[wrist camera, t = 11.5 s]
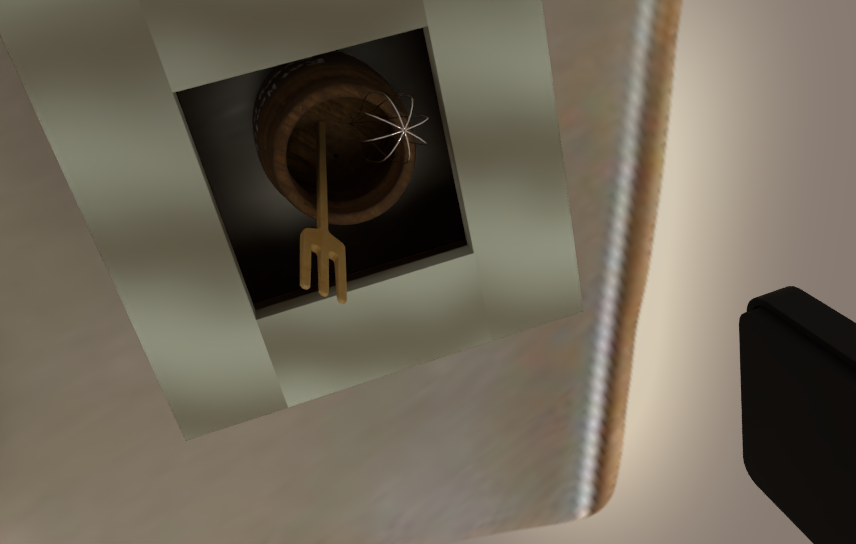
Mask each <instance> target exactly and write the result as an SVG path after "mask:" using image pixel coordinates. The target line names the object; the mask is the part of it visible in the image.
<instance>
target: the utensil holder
mask: <svg viewBox="0 0 856 544" xmlns="http://www.w3.org/2000/svg"><path fill="white" fill-rule="evenodd" d="M398 95H406V96H410V98H411V101H412V105H411V111H410V115H407V112H406V109H405V107H404V105H403V103H402V101H401V99H400V97H399V96H398ZM412 109H413V99H412V96H411V95H408V94H397V93H396V91H395V90H394V89H393V88H392V86H391V85H390V84H389V83H388V82H387V81H386V80H385V79H384V78H383V77H382V76H381V75H379V74H378V73H377V72H376V71H374V70H373V69H372V68H370V67H369V66H368V65H366V64H365V63H363V62H361V61H360V60H358V59H356V58H354V57H352V56H350V55H347V54H344V53H341V52H337V51H331V52H327V53H323V54H319V55H315V56H312V57H308V58H304V59H300V60H296V61H293V62H289V63H285V64H281V65H278V66H277V67H276V68H275V69H274V70H273V71H272V72H271V73H270V74H269V75H268V77H267V78H266V79H265V81H264V82H263V84H262V86H261V88H260V90H259V92H258V94H257V97H256V101H255V104H254V110H253V132H254V139H255V144H256V148H257V153H258V156H259V159H260V162H261V164H262V167H263V169H264V171H265V173H266V175H267V177H268V178H269V180H270V181H271V183H272V184H273V185H274V187H275V188H276V189H277V190H278V191H279V192H280V193H281V194H282V195H283V196H284V197H286V198H287V200H288V201H289V202H291V203H292V204H293V205H294V206H295V207H296V208H297V209H299V210H300V211H301V212H303V213H304V214H306V215H308V216H309V217H311V218H313V219H316V220H317V229H315V228H305V229H304V230H303V231H302V233H301V234H300V286H301V287H302V288H303V289H306V290H307V289H309V288H310V281H311V251H312V252H315V253H316V254H317V259H318V288H319V294H320V295H321V296H323V297H326V296H328V294H329V259H331V260H333V261H334V263H335V278H336V293H337V301H338V302H339V303H341V304H344V303H346V302H347V284H346V255H345V246H344V245H343V243H342V242H340V241H339V240H338V239H336V238H335V237H334V236H333V235H331V234H330V232H329V231H328V223H329V224H335V225H351V224H358V223H362V222H365V221H368V220H371V219H373V218H375V217H377V216H379V215H381V214H382V213H384V212H385V211H387V210H388V209H389V208H390V207H392V206H393V205H394V204H395V203H396V202H397V201H398V199H399V198H400V197H401V196H402V194H403V193H404V191H405V190H406V188H407V186H408V184H409V182H410V180H411V177H412V174H413V171H414V167H415V160H416V146H415V144H418V145H427V143H426V142H425V141H424V140H422V139H421V138H419V137H418V136H416V135H414V134H413V130H412V128H413V127H416V126H418V125H420V124H422V123H424V122H425V121H427V120H428V116H423V115H411V113H412ZM408 116H409V118H408ZM411 116H419V117H426V118H427V119H426V120H424V121H422V122H421V123H419V124H416V125H414V126H412V127H411V124H410V122H409V120H410V117H411ZM414 136H415V137H416V138H418V139H420V140H421V141H423V142H424V143H425V144H422V143H415V139H414Z"/></svg>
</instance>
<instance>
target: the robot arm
mask: <svg viewBox="0 0 856 544" xmlns="http://www.w3.org/2000/svg"><path fill="white" fill-rule="evenodd" d="M739 335H740V370H741V401H742V402H741V403H742V434H743V459H744V464H745V467H746V469H747V471H748V474H749V475H750V477H751V479H752V480H753V481H754V483H755V484H756V485H757V486H758V487H759V488H760V489H761V490H762V491H763V492H764V493H765V494H766V495H767V496H768V497H769V498H770V499H771V500H772V501H773V503H775V505H776V506H777V507H778V508H779V509H780V510H781V511H782V512H784V514H785V515H786V516H787V517H788V518H789V519H790V520H791V521H792V522H793V523H794V524H795V525H796V526H797V527H798V528H799V529H800V530H801V531H802V532H803V533H804V534H805V535H806V536H807V537H808V538H809V539H810V541H811V542H813V544H856V323H854V322H853V321H852V320H850V319H848V318H847V317H845V316H843V315H842V314H840V313H838V312H837V311H835V310H834V309H832V308H830V307H829V306H827V305H825V304H824V303H822V302H821V301H819V300H817V299H815V298H814V297H812V296H811V295H809V294H808V293H806V292H804V291H803V290H801V289H799V288H797V287H794V286H788V287H785V288H782V289H779V290H776V291H774V292H771V293H768V294H765V295H762V296H759V297H756V298H754V299H752V300H751V301H750V302H749V304H748V306H747V312H746V313H744V314H742V315H741V317H740V320H739Z"/></svg>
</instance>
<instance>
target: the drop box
mask: <svg viewBox="0 0 856 544" xmlns="http://www.w3.org/2000/svg"><path fill="white" fill-rule="evenodd" d="M422 27H423V31H424V36H425V40H426V45H427V50H428V55H429V60H430V65H431V70H432V74H433V79H434V84H435V89H436V94H437V99H438V104H439V109H440V113H441V118H442V123H443V128H444V133H445V138H446V143H447V147H448V152H449V157H450V162H451V167H452V172H453V177H454V182H455V186H456V191H457V196H458V201H459V206H460V211H461V216H462V220H463V225H464V230H465V235H466V239H464V240H461V241H458V242H454V243H451V244H448V245H445V246H441V247H438V248H435V249H431V250H428V251H425V252H422V253H418V254H415V255H412V256H408V257H405V258H402V259H399V260H395V261H392V262H389V263H385V264H382V265H379V266H376V267H372V268H369V269H366V270H363V271H359V272H356V273H353V274H349V275H346V284H347V302H346V303H344V304H341V303H339V302H338V301H337V293H336V279H333V280H330V281H329V294H328V296H326V297H323V296H321V295H320V294H319V288H318V284H317V285H313V286H310V288H309V289H307V290H306V289H300V290H297V291H294V292H290V293H287V294H284V295H280V296H277V297H274V298H271V299H267V300H264V301H261V302H257V303H254V304H253V303H252V300H251V297H250V295H249V292H248V289H247V286H246V284H245V281H244V278H243V276H242V273H241V270H240V267H239V265H238V262H237V259H236V256H235V254H234V251H233V248H232V245H231V243H230V240H229V237H228V234H227V232H226V229H225V226H224V223H223V221H222V218H221V215H220V213H219V210H218V207H217V204H216V202H215V199H214V196H213V193H212V191H211V188H210V185H209V182H208V180H207V177H206V174H205V171H204V169H203V166H202V163H201V161H200V158H199V155H198V152H197V150H196V147H195V144H194V141H193V139H192V136H191V133H190V130H189V128H188V125H187V122H186V119H185V117H184V114H183V111H182V108H181V106H180V103H179V100H178V98H177V95H176V92H178V91H182V90H186V89H189V88H193V87H197V86H201V85H205V84H208V83H212V82H216V81H220V80H224V79H228V78H231V77H235V76H239V75H243V74H247V73H250V72H254V71H258V70H262V69H266V68H270V67H273V66H277V65H281V64H285V63H289V62H293V61H296V60H300V59H304V58H308V57H312V56H315V55H319V54H323V53H327V52H331V51H335V50H338V49H342V48H346V47H350V46H354V45H357V44H361V43H365V42H369V41H373V40H377V39H380V38H384V37H388V36H392V35H396V34H399V33H403V32H407V31H411V30H415V29H419V28H422ZM0 36H1V38H2V40H3V42H4V44H5V47H6V49H7V51H8V53H9V55H10V58H11V60H12V62H13V64H14V66H15V69H16V71H17V73H18V75H19V77H20V80H21V82H22V84H23V86H24V88H25V90H26V93H27V95H28V97H29V99H30V101H31V104H32V106H33V108H34V110H35V112H36V115H37V117H38V119H39V121H40V123H41V125H42V128H43V130H44V132H45V134H46V136H47V139H48V141H49V143H50V145H51V147H52V150H53V152H54V154H55V156H56V158H57V161H58V163H59V165H60V167H61V169H62V171H63V174H64V176H65V178H66V180H67V182H68V185H69V187H70V189H71V191H72V193H73V196H74V198H75V200H76V202H77V204H78V207H79V209H80V211H81V213H82V215H83V217H84V220H85V222H86V224H87V226H88V228H89V231H90V233H91V235H92V237H93V239H94V242H95V244H96V246H97V248H98V250H99V252H100V255H101V257H102V259H103V261H104V263H105V266H106V268H107V270H108V272H109V274H110V277H111V279H112V281H113V283H114V285H115V288H116V290H117V292H118V294H119V296H120V298H121V301H122V303H123V305H124V307H125V309H126V312H127V314H128V316H129V318H130V320H131V323H132V325H133V327H134V329H135V331H136V334H137V336H138V338H139V340H140V342H141V344H142V347H143V349H144V351H145V353H146V355H147V358H148V360H149V362H150V364H151V366H152V369H153V371H154V373H155V375H156V377H157V379H158V382H159V384H160V386H161V388H162V390H163V393H164V395H165V397H166V399H167V401H168V404H169V406H170V408H171V410H172V412H173V415H174V417H175V419H176V421H177V423H178V425H179V428H180V430H181V432H182V434H183V436H184V439H185V441H187V440H190V439H193V438H196V437H199V436H202V435H205V434H208V433H211V432H214V431H217V430H220V429H223V428H227V427H230V426H233V425H236V424H239V423H242V422H245V421H248V420H251V419H254V418H257V417H260V416H263V415H266V414H270V413H273V412H276V411H279V410H282V409H285V408H288V407H291V406H294V405H297V404H300V403H303V402H306V401H309V400H312V399H316V398H319V397H322V396H325V395H328V394H331V393H334V392H337V391H340V390H343V389H346V388H349V387H352V386H355V385H358V384H362V383H365V382H368V381H371V380H374V379H377V378H380V377H383V376H386V375H389V374H392V373H395V372H398V371H401V370H404V369H408V368H411V367H414V366H417V365H420V364H423V363H426V362H429V361H432V360H435V359H438V358H441V357H444V356H447V355H451V354H454V353H457V352H460V351H463V350H466V349H469V348H472V347H475V346H478V345H481V344H484V343H487V342H490V341H493V340H497V339H500V338H503V337H506V336H509V335H512V334H515V333H518V332H521V331H524V330H527V329H530V328H533V327H536V326H539V325H543V324H546V323H549V322H552V321H555V320H558V319H561V318H564V317H567V316H570V315H573V314H576V313H579V312H582V311H583V305H582V298H581V290H580V283H579V275H578V268H577V260H576V253H575V245H574V238H573V230H572V223H571V215H570V208H569V200H568V193H567V185H566V178H565V170H564V163H563V155H562V147H561V140H560V132H559V125H558V117H557V110H556V102H555V95H554V87H553V80H552V72H551V65H550V57H549V50H548V42H547V35H546V27H545V20H544V12H543V5H542V0H0Z"/></svg>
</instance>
